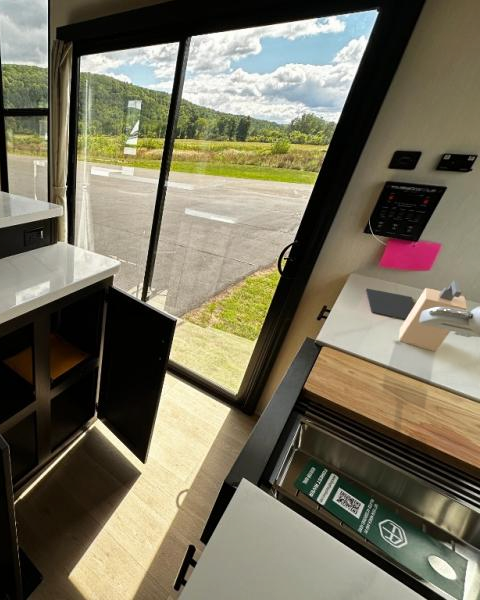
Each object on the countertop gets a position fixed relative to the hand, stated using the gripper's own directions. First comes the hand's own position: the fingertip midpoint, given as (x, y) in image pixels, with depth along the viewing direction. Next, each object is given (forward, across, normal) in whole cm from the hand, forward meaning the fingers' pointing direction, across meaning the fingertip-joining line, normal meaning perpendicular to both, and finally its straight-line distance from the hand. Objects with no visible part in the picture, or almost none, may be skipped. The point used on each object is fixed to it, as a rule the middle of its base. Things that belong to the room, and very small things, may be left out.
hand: (460, 332), depth 83 cm
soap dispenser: (+22, 0, +1) cm, 22 cm away
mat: (+39, -3, +18) cm, 43 cm away
